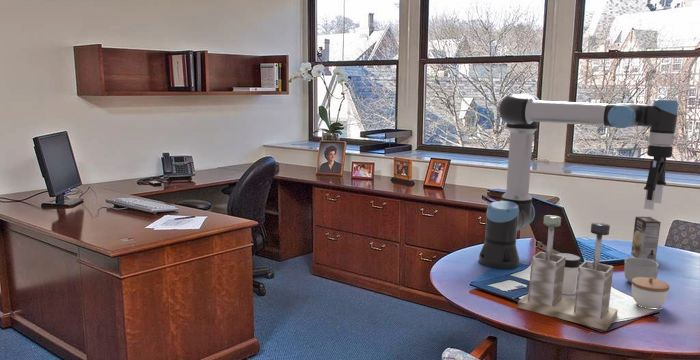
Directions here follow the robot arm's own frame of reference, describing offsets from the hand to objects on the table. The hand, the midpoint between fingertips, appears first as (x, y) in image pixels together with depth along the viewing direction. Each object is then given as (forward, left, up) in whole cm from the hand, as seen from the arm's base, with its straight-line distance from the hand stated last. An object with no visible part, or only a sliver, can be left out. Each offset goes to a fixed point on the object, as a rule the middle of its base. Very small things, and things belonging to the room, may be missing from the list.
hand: (652, 205), depth 202 cm
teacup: (-2, +1, -28) cm, 28 cm away
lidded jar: (+5, -22, -28) cm, 36 cm away
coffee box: (-6, +35, -28) cm, 45 cm away
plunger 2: (-7, -44, -17) cm, 48 cm away
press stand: (-14, -44, -28) cm, 54 cm away
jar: (-20, -26, -28) cm, 44 cm away
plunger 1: (-21, -44, -17) cm, 52 cm away
